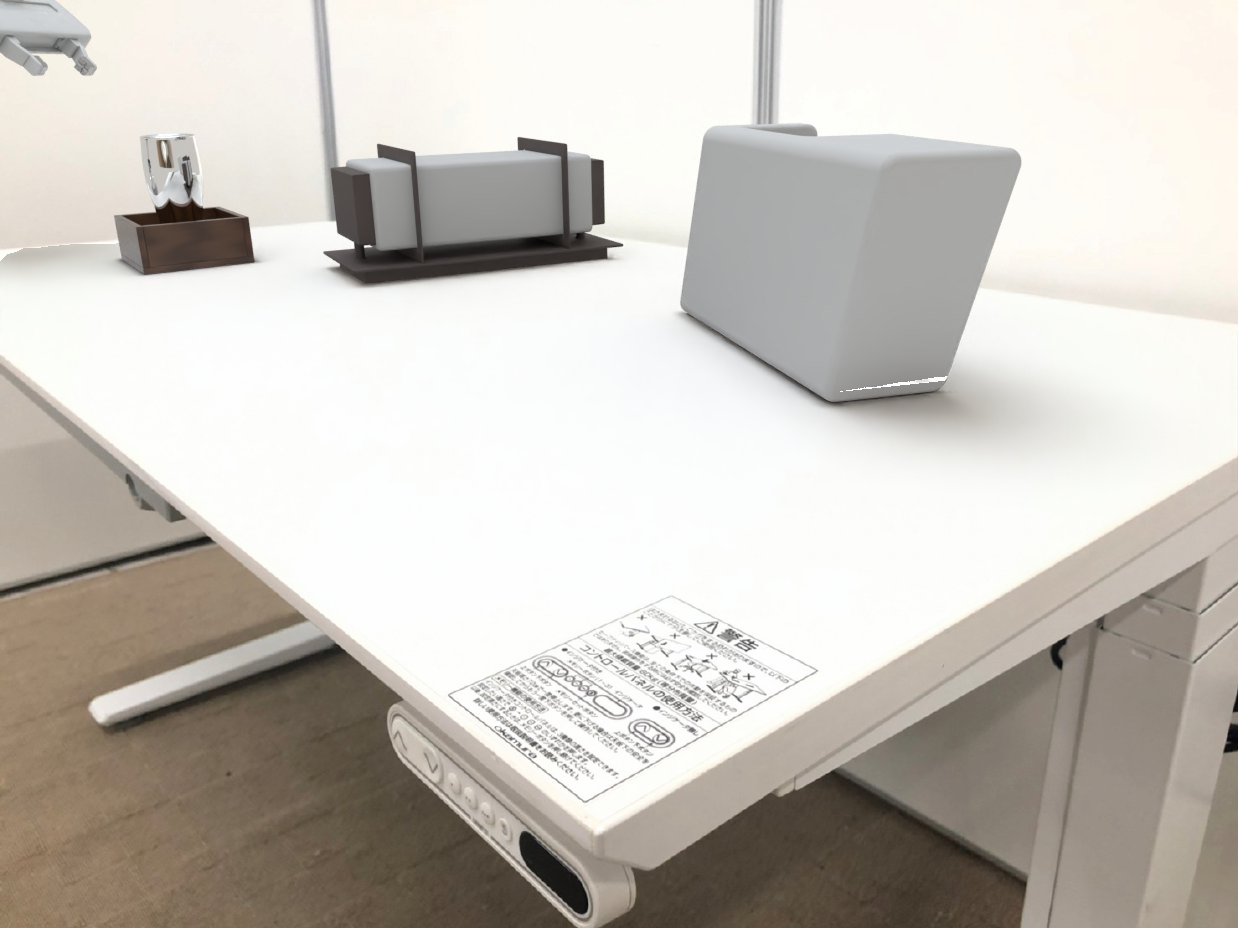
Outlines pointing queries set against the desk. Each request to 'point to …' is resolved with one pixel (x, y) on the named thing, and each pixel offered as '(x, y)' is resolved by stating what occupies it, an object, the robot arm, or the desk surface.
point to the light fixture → (468, 211)
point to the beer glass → (173, 176)
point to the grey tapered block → (843, 251)
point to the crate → (184, 241)
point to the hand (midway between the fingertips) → (67, 72)
